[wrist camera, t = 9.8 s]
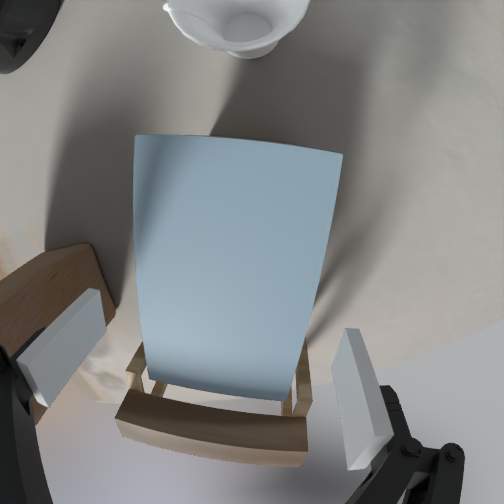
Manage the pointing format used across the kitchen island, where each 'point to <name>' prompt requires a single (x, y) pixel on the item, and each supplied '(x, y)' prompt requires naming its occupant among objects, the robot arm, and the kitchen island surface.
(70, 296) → the wooden block
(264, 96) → the kitchen island surface
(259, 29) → the cup
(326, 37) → the kitchen island surface
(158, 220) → the lid
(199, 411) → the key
